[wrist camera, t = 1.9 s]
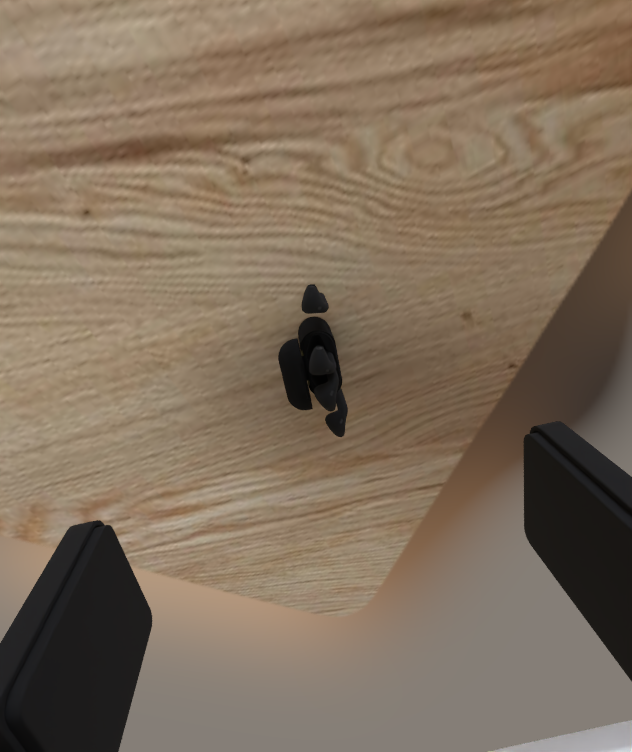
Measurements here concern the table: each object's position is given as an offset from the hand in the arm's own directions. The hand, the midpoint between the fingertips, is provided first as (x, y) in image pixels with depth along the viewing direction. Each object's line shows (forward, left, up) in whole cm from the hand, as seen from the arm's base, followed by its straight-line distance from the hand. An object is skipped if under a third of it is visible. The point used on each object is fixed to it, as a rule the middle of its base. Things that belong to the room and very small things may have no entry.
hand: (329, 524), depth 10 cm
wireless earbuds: (0, 0, -13) cm, 13 cm away
